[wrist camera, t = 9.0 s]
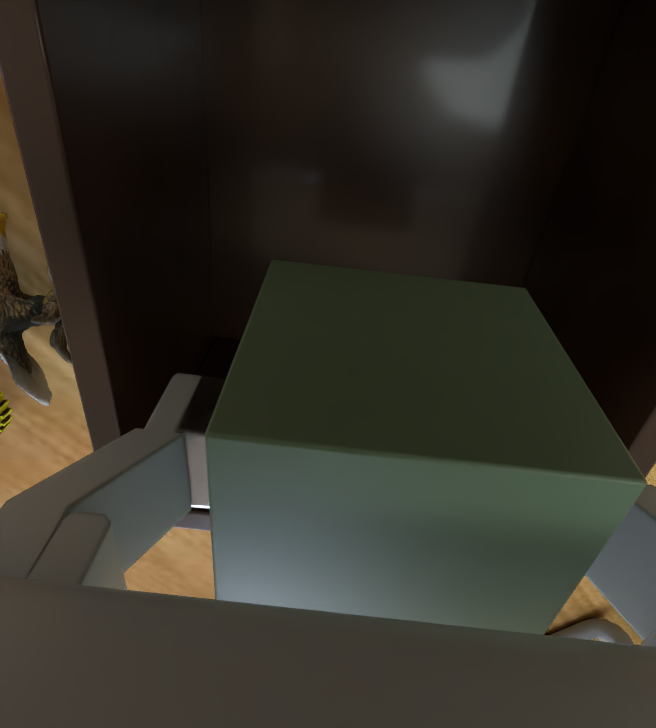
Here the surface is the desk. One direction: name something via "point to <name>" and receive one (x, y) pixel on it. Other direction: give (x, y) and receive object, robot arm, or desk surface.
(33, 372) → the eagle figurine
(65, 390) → the desk surface
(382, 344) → the block
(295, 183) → the chest
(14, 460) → the desk surface
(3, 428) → the toy motorcycle
